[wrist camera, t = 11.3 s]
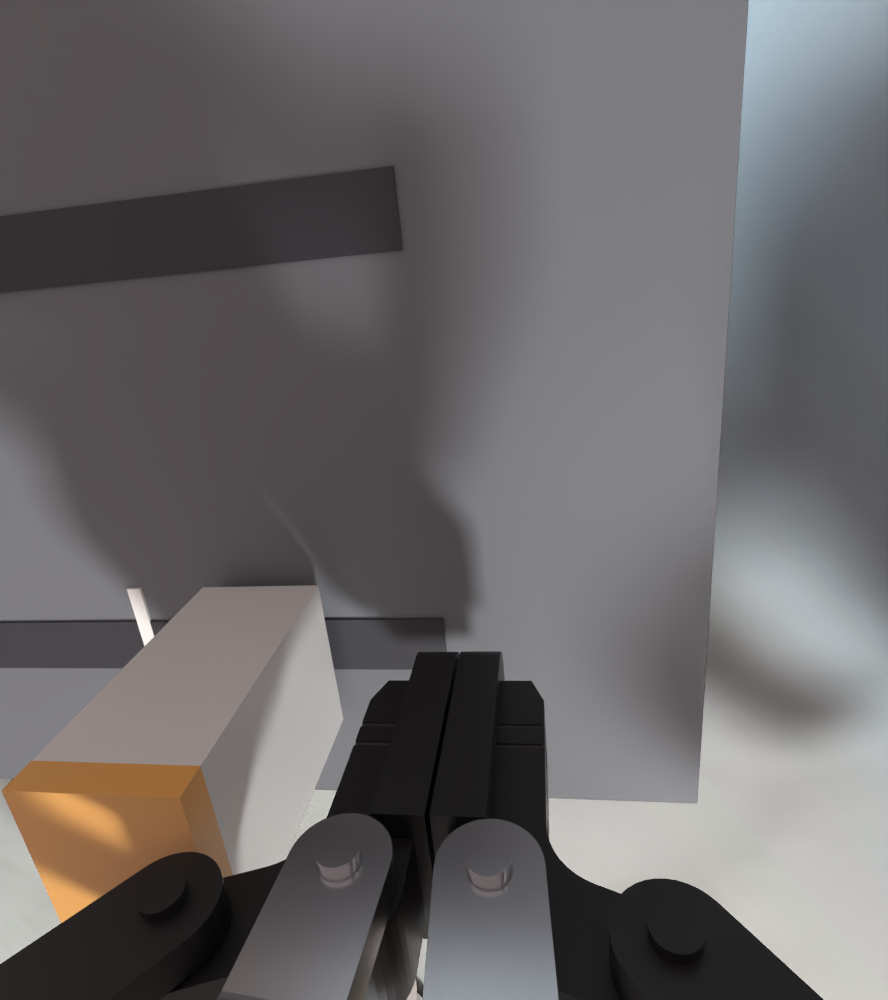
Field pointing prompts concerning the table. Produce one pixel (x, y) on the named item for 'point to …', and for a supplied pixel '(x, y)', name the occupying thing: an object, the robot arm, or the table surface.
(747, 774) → the table surface
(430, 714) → the robot arm
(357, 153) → the console
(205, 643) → the fader
